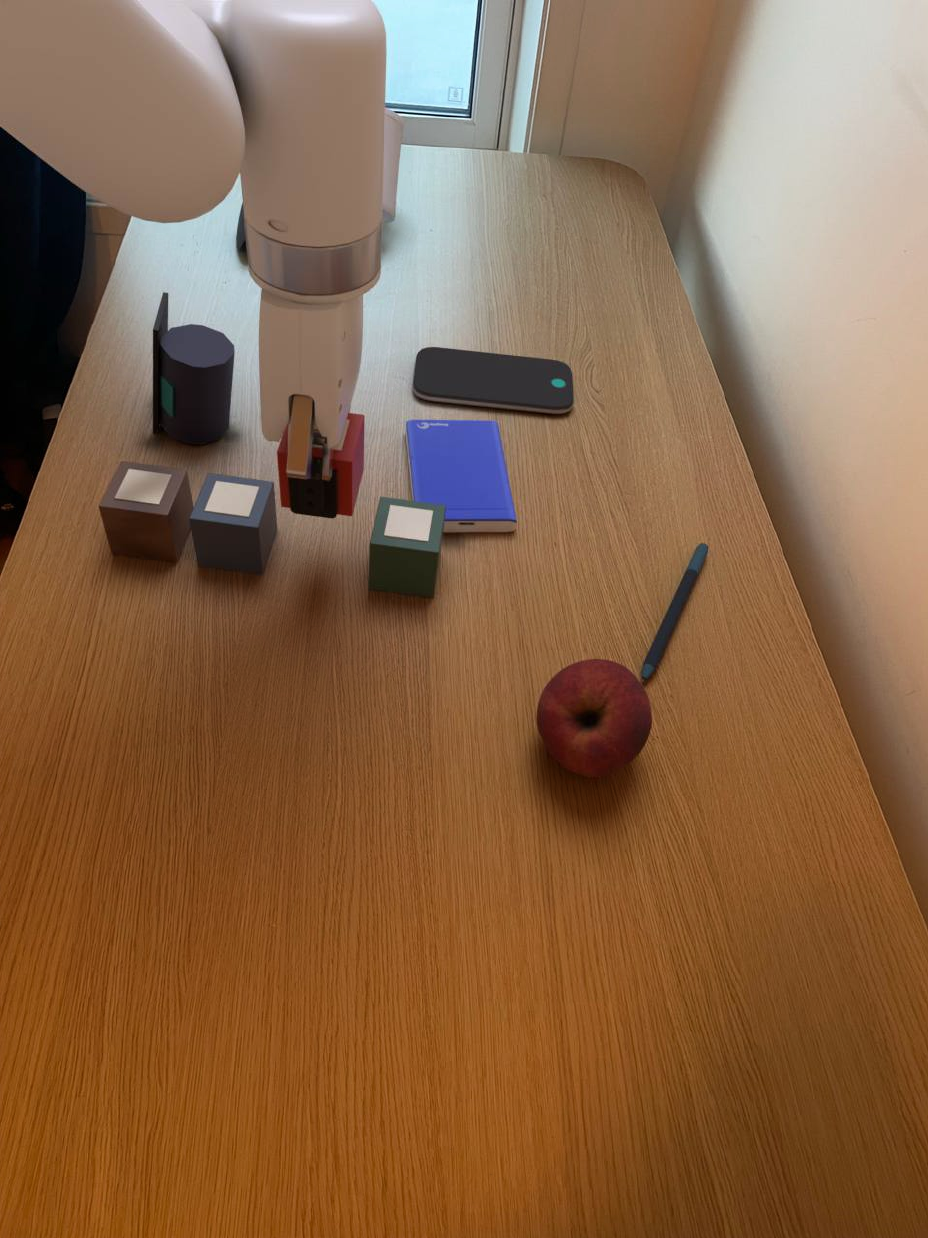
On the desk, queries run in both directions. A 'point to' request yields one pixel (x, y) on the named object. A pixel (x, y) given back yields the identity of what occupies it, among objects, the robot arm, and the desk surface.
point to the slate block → (234, 523)
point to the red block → (344, 461)
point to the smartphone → (493, 380)
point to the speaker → (191, 380)
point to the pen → (674, 611)
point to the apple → (594, 717)
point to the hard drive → (461, 473)
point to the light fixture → (390, 173)
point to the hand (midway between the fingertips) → (322, 483)
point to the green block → (406, 547)
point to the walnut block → (147, 511)
